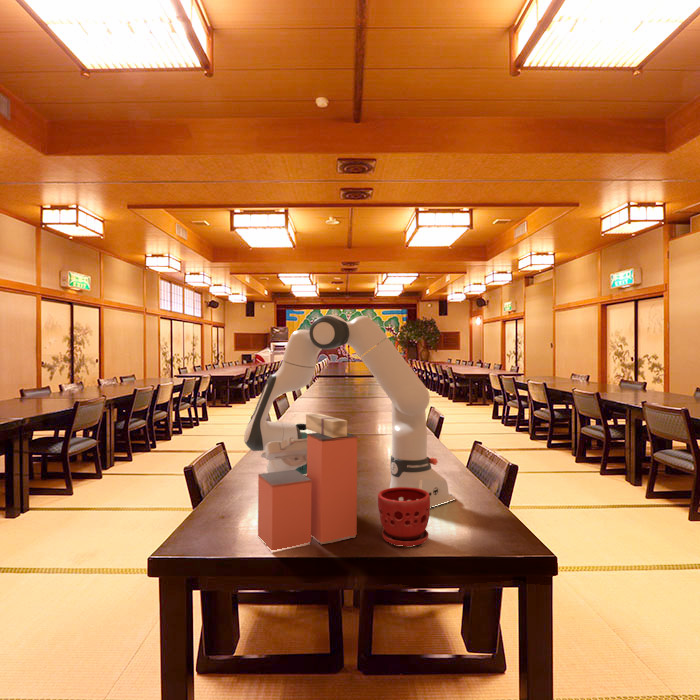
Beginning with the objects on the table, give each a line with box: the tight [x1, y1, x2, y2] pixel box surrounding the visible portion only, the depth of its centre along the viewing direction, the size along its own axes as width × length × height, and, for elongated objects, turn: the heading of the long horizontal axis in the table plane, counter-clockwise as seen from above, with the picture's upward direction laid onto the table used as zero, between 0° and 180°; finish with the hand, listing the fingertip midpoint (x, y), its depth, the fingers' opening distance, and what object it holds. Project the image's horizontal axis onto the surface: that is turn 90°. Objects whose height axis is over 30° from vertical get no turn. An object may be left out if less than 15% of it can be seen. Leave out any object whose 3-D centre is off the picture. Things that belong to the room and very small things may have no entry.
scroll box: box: [305, 413, 348, 438], centre depth 122 cm, size 4×17×4 cm, turn 28°
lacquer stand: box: [257, 432, 358, 550], centre depth 117 cm, size 22×12×26 cm, turn 118°
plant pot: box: [377, 487, 431, 546], centre depth 116 cm, size 13×13×12 cm
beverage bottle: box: [295, 423, 308, 476], centre depth 174 cm, size 6×7×20 cm
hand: (306, 438), depth 134 cm, fingers open, 8 cm apart
